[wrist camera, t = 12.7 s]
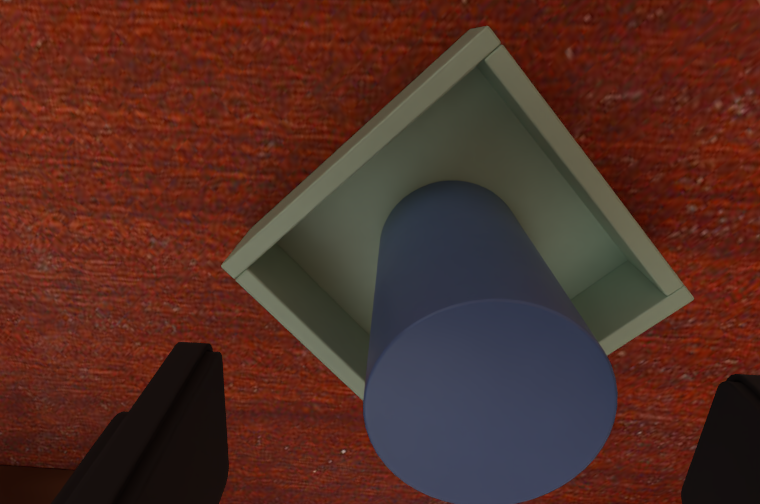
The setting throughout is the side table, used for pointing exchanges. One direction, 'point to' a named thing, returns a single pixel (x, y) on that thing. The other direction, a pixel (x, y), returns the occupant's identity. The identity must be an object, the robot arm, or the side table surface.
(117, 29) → the side table surface
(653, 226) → the side table surface
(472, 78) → the bin
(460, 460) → the vial
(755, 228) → the side table surface
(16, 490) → the stand
